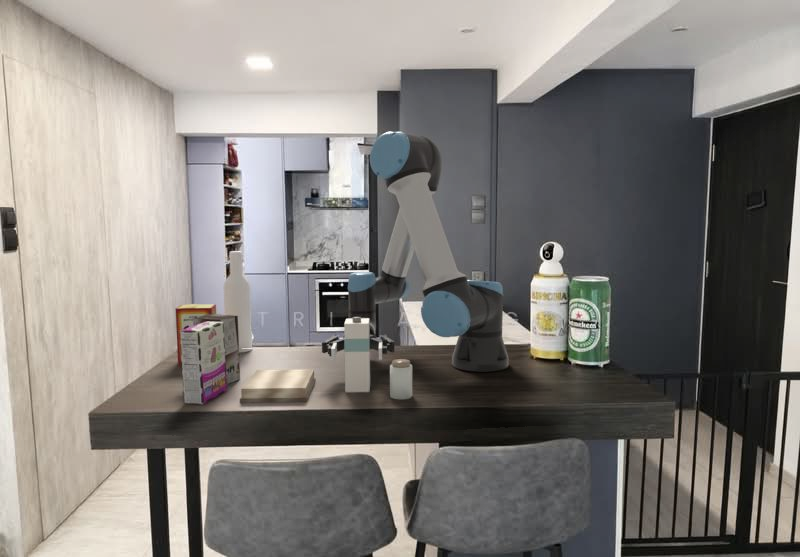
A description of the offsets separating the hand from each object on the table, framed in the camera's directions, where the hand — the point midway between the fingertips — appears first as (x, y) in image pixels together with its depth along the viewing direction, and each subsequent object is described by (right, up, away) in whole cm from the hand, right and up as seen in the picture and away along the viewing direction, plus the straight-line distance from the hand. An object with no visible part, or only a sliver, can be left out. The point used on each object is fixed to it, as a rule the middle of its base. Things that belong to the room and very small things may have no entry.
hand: (356, 354), depth 138 cm
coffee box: (-35, -8, +12) cm, 38 cm away
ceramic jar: (+10, -9, -2) cm, 14 cm away
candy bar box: (-34, -10, -1) cm, 35 cm away
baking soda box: (-47, -6, +32) cm, 57 cm away
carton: (0, -9, +5) cm, 10 cm away
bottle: (-39, -5, +46) cm, 61 cm away
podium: (-18, -9, +3) cm, 20 cm away
